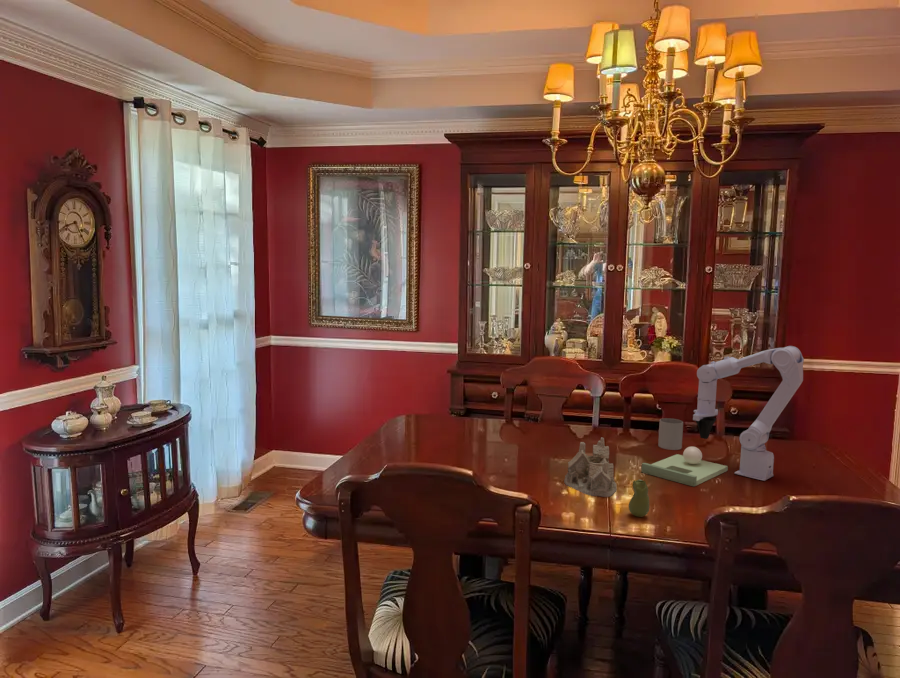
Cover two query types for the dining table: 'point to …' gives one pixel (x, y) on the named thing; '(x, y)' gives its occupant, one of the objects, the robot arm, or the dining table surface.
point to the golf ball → (692, 455)
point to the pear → (639, 499)
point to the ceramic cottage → (592, 471)
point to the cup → (670, 434)
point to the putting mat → (683, 470)
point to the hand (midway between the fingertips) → (704, 438)
